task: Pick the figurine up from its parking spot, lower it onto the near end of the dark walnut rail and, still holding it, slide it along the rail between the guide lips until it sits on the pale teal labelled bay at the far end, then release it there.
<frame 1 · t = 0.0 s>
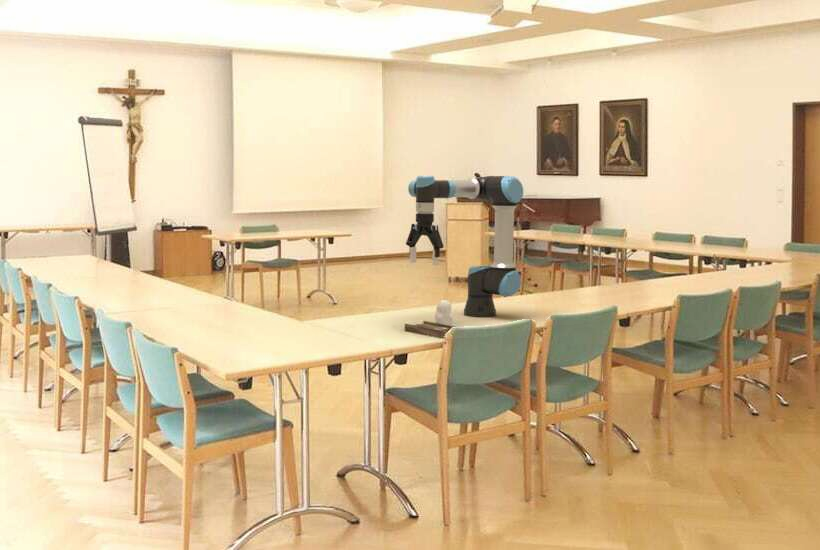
hand: (424, 263, 373), 28 cm above the table, fingers open, 13 cm apart
flange rail: (432, 332, 370), on the table
figurine: (443, 327, 384), on the table
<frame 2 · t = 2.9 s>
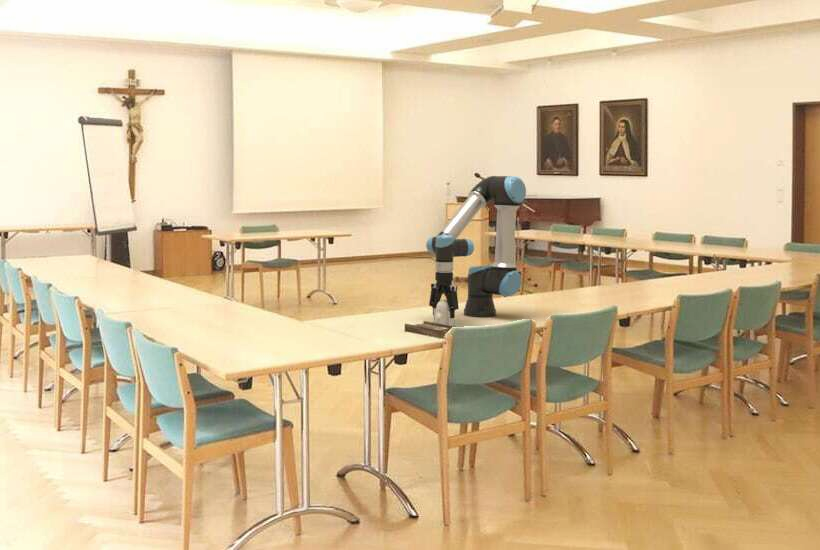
hand: (443, 324, 383), 1 cm above the table, fingers closed on figurine, 8 cm apart
figurine: (442, 327, 384), on the table, touching gripper
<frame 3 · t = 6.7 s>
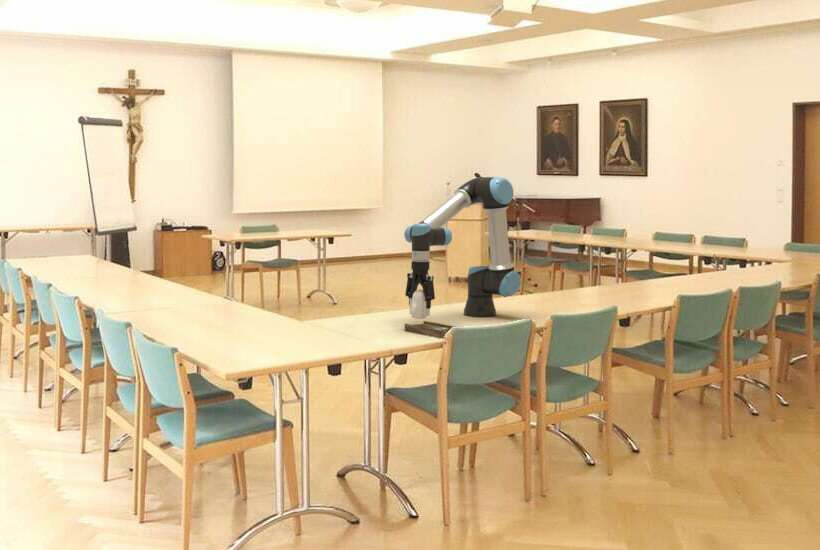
hand: (419, 314, 375), 7 cm above the table, fingers closed on figurine, 8 cm apart
figurine: (419, 318, 375), point 5 cm above the table, touching gripper
when the fingers open (4 cm above the table, at t = 10.8 s): figurine stays where it is, resting on flange rail.
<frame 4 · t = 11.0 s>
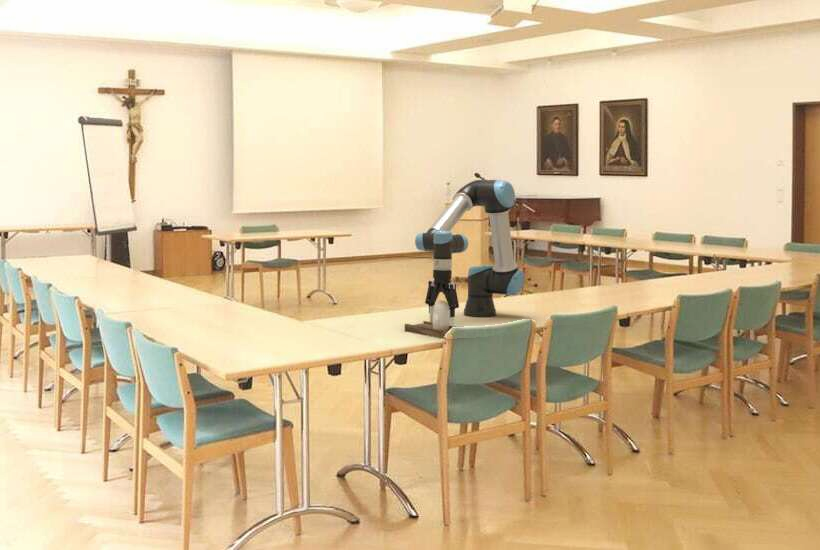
hand: (441, 323, 366), 5 cm above the table, fingers open, 10 cm apart
figurine: (441, 329, 366), point 2 cm above the table, touching flange rail
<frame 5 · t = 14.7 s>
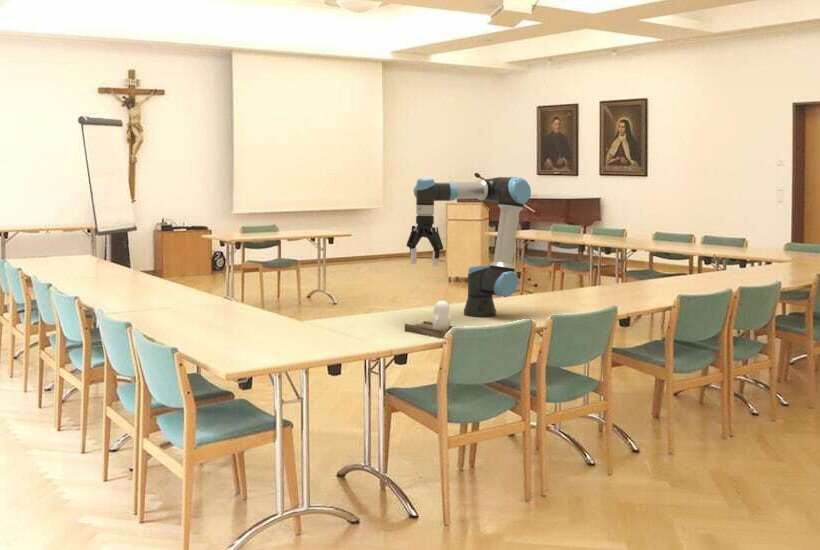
hand: (424, 265, 381), 27 cm above the table, fingers open, 13 cm apart
nothing on the table moved.
at the end: figurine inside the target area on the flange rail (0.7 cm from its centre), point 1.9 cm above the flange rail's base; figurine tilted 0°; the gripper is holding nothing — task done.
